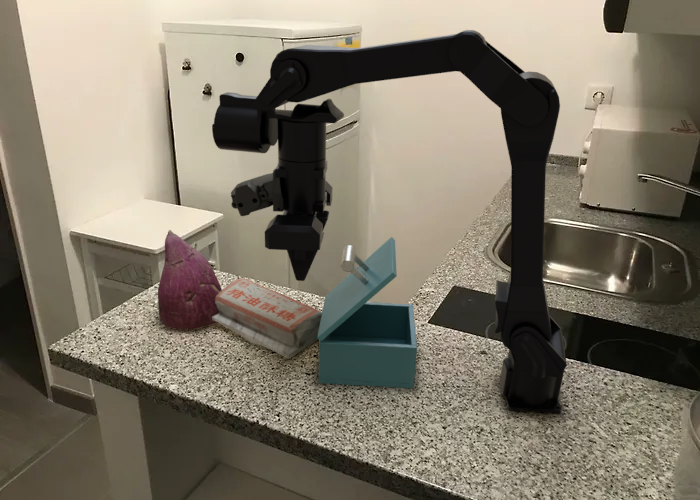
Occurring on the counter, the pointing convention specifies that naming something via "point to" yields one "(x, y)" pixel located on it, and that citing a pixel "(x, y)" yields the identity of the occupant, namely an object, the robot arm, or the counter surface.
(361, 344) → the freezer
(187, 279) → the vegetable
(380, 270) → the freezer lid
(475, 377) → the counter surface
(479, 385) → the counter surface
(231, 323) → the packaged product
